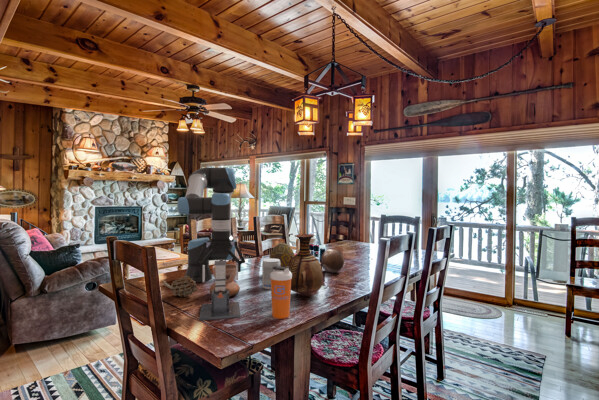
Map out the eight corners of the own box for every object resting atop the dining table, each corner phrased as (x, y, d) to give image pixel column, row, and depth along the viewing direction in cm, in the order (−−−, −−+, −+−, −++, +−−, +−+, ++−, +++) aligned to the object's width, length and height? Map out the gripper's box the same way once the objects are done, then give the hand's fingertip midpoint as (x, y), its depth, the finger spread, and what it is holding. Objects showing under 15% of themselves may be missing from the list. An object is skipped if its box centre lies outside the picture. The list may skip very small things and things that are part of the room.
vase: (315, 305, 147) (316, 238, 146) (278, 300, 153) (279, 236, 153) (328, 291, 167) (328, 233, 166) (294, 287, 173) (295, 231, 173)
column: (214, 307, 140) (214, 260, 139) (226, 306, 141) (226, 260, 140) (214, 311, 135) (214, 263, 134) (226, 310, 136) (226, 262, 136)
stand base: (201, 306, 144) (201, 285, 144) (238, 304, 147) (238, 283, 147) (199, 320, 128) (199, 297, 128) (240, 317, 132) (240, 294, 132)
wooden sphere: (316, 272, 207) (316, 249, 206) (327, 268, 219) (328, 246, 219) (337, 276, 198) (337, 251, 198) (348, 271, 210) (348, 248, 210)
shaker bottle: (269, 311, 138) (270, 264, 138) (291, 311, 139) (291, 264, 139) (269, 320, 129) (270, 269, 129) (292, 319, 130) (292, 269, 130)
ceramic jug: (231, 301, 150) (231, 271, 150) (202, 298, 154) (203, 268, 154) (245, 291, 168) (246, 263, 168) (219, 288, 171) (220, 261, 171)
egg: (263, 275, 200) (263, 242, 199) (284, 271, 210) (284, 240, 210) (280, 280, 187) (280, 245, 187) (301, 276, 198) (301, 243, 198)
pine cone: (202, 295, 159) (202, 275, 159) (188, 301, 150) (188, 280, 150) (167, 290, 167) (167, 270, 167) (152, 295, 158) (152, 275, 158)
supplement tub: (283, 288, 172) (283, 260, 172) (267, 291, 167) (267, 262, 167) (274, 284, 181) (274, 257, 180) (259, 286, 175) (259, 259, 175)
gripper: (188, 231, 131) (188, 284, 131) (251, 230, 136) (251, 281, 137) (190, 229, 138) (190, 279, 138) (250, 228, 144) (249, 276, 144)
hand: (220, 280), depth 138 cm, fingers open, 13 cm apart
